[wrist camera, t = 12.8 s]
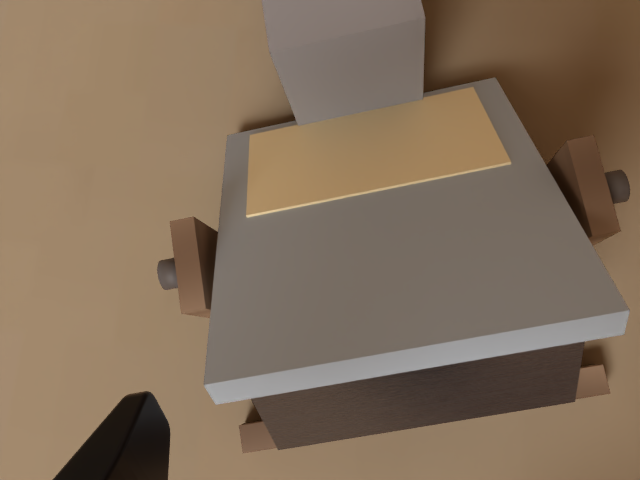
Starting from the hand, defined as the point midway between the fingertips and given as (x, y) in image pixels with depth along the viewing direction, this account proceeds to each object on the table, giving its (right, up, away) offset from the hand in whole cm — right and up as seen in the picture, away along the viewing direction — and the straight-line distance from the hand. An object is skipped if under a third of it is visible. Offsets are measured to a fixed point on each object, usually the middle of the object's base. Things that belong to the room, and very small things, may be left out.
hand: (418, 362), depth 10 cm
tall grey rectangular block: (0, +8, +11) cm, 14 cm away
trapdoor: (+1, 0, +13) cm, 13 cm away
